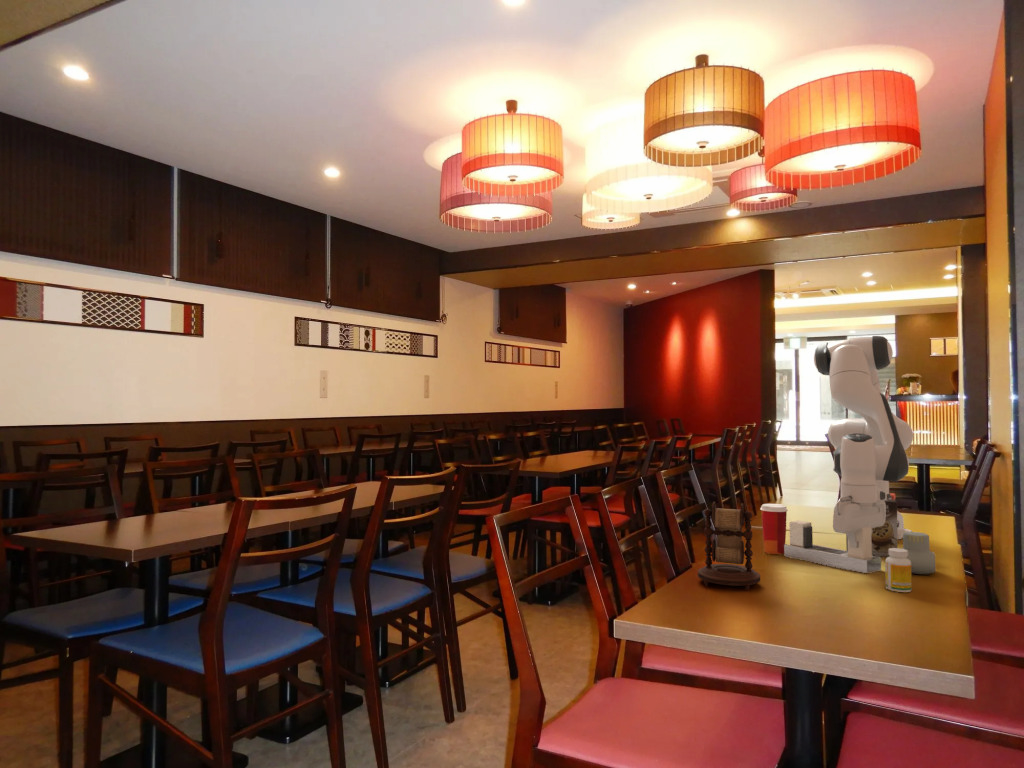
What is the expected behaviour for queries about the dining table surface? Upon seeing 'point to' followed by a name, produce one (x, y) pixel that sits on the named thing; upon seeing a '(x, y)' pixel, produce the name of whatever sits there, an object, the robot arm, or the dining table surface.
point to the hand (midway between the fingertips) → (859, 546)
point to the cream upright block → (861, 544)
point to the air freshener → (919, 552)
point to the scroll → (728, 548)
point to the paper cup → (774, 527)
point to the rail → (824, 551)
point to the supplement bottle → (898, 570)
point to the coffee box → (886, 531)
